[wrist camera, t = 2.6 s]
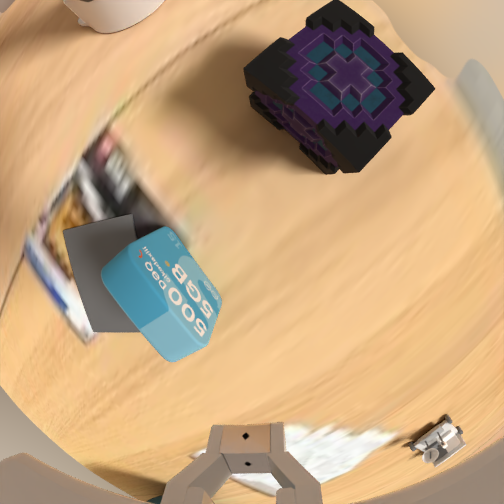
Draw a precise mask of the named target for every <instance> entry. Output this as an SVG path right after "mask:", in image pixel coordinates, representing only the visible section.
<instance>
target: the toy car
mask: <svg viewBox="0 0 504 504" xmlns="http://www.w3.org/2000/svg"><path fill="white" fill-rule="evenodd" d="M444 417H445V420H444V421H443V422H442V423H440V424H438V425H437V426H435V427H434V428H433V429H431V430H430V431H429V432H427V433H426V434H425V435H423V436H422V437H421V438H419V439H418V441H417V442H415V443H412V442H410V443H409V447H410V449H411V450H412V451H415V450H416V449H417V448H418V449H420V450H422V451H423V452H424V454H423V456H422V460H423V461H424V462H425V463H431V462H433V464H434V466H435V467H437V466H438V465H440V464H441V463H443V462H444V461H446V460H447V459H448V458H450V457H451V456H452V455H454V454H455V453H456V452H458V451H459V450H460V449H462V448H463V447H464V446H465V445H466V443H465V441H464V439H463V438H462V436H461V434H462V433H463V431H462V430H461V428H460V427H459V426H458V427H457V428H455V427H454V426H453V425H452V424H451V423H452V420H451V418H450V417H449V416H448V415H447V414H446V415H445V416H444Z"/></svg>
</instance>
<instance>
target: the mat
mask: <svg viewBox="0 0 504 504" xmlns="http://www.w3.org/2000/svg"><path fill="white" fill-rule="evenodd" d="M63 234H64V238H65V243H66V247H67V251H68V255H69V259H70V263H71V266H72V270H73V273H74V277H75V280H76V283H77V287H78V290H79V293H80V296H81V299H82V302H83V305H84V308H85V311H86V313H87V316H88V319H89V321H90V324H91V327H92V329H93V332H140V331H139V330H138V328H137V327H136V326H135V325H134V323H133V322H132V321H131V320H130V318H129V317H128V316H127V315H126V313H125V312H124V311H123V310H122V308H121V307H120V306H119V304H118V303H117V302H116V300H115V299H114V298H113V296H112V295H111V294H110V292H109V291H108V290H107V288H106V287H105V285H104V284H103V281H102V278H101V271H102V268H103V267H104V266H105V265H106V264H107V263H108V262H109V261H111V260H112V259H113V258H114V257H115V256H116V255H117V254H118V253H120V252H121V251H122V250H123V249H124V248H125V247H126V246H128V245H129V244H130V243H132V242H134V241H136V240H138V239H137V235H136V230H135V225H134V220H133V215H132V214H129V215H125V216H120V217H116V218H111V219H107V220H103V221H99V222H95V223H91V224H87V225H83V226H79V227H75V228H71V229H67V230H64V231H63Z"/></svg>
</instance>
